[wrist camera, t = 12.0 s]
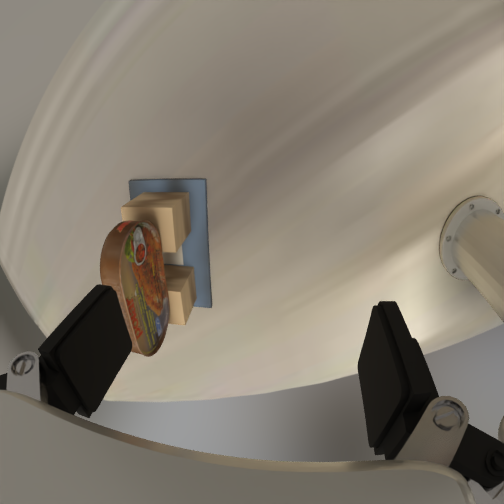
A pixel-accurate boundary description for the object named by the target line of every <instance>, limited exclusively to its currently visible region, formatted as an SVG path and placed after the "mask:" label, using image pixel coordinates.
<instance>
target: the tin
mask: <svg viewBox="0 0 504 504" xmlns="http://www.w3.org/2000/svg"><path fill="white" fill-rule="evenodd" d="M100 276H101V281H102V285H108V286H112V288H113V290H115V291H116V293H117V296H118V299H119V303H120V306H121V309H122V313H123V316H124V319H125V322H126V325H127V329H128V332H129V335H130V338H131V341H132V350H131V352H135V353H139V354H142V355H144V356H147V357H150V356H152V355H154V354H155V353H156V352H157V351H158V350H159V348H160V347H161V345H162V343H163V340H164V338H165V335H166V331H167V327H168V321H169V311H170V307H169V296H168V290H167V283H166V277H165V270H164V262H163V254H162V246H161V240H160V236H159V233H158V231H157V229H156V227H155V226H154V225H153V223H151V222H150V221H147V220H142V221H131V220H129V221H123V222H121V223H119V224H118V225H117V226H115V227H114V229H113V230H112V231H111V232H110V233H109V234H108V236H107V238H106V240H105V242H104V245H103V248H102V253H101V258H100Z"/></svg>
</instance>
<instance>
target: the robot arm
mask: <svg viewBox="0 0 504 504" xmlns="http://www.w3.org/2000/svg"><path fill="white" fill-rule="evenodd" d="M440 257H441V261H442V263H443V266H444V267H445V269H446V270H447V271H448V272H449V274H450V275H451V276H453V277H455V278H456V279H460V280H470V281H471V282H472V284H473V285H474V286H475V287H476V288H477V289H478V291H479V292H480V293H481V294H482V295H483V297H484V298H485V299H486V300H487V302H488V303H489V304H490V305H491V307H492V308H493V309H494V310H495V312H496V313H497V314H498V316H499V317H500V318H501V320H502V321H503V322H504V213H503V211H502V209H501V208H500V206H499V205H498V204H497V203H496V202H494V201H493V200H491V199H489V198H487V197H483V196H477V197H472V198H469V199H467V200H466V201H464V202H462V203H461V204H460V205H459V206H458V207H456V209H455V210H454V211H453V212H452V213H451V215H450V217H449V218H448V220H447V221H446V224H445V226H444V228H443V231H442V235H441V239H440ZM38 350H39V352H40V354H41V356H40V357H38V356H37V355H36V354H35V353H33V352H23V353H20V354H18V355H17V356H16V357H14V358H13V359H12V361H11V362H10V364H9V367H8V373H6V374H3V375H0V504H504V416H503V418H502V420H501V422H500V425H499V429H498V440H497V439H495V438H493V437H491V436H490V435H488V434H486V433H484V432H483V431H481V430H479V429H477V428H475V427H474V426H472V425H470V424H468V421H469V414H468V410H467V408H466V406H465V405H464V404H463V403H462V402H461V401H459V400H458V399H456V398H453V397H451V396H441V397H439V395H438V392H437V390H436V387H435V384H434V381H433V379H432V376H431V373H430V371H429V368H428V366H427V363H426V361H425V358H424V356H423V353H422V351H421V348H420V346H419V343H418V342H417V340H416V339H415V338H412V337H411V335H410V332H409V330H408V328H407V325H406V323H405V321H404V318H403V316H402V314H401V312H400V309H399V307H398V305H397V303H396V302H395V301H380V302H379V303H378V306H373V309H372V313H371V317H370V321H369V325H368V328H367V332H366V336H365V340H364V343H363V347H362V350H361V354H360V357H359V361H358V374H359V379H360V386H361V391H362V398H363V404H364V411H365V418H366V425H367V433H368V441H369V446H370V447H374V452H375V455H382V454H385V460H377V461H376V460H375V461H351V462H288V461H270V460H258V459H247V458H238V457H231V456H224V455H217V454H210V453H204V452H199V451H194V450H188V449H183V448H179V447H174V446H169V445H165V444H161V443H157V442H153V441H149V440H146V439H142V438H138V437H135V436H132V435H128V434H125V433H122V432H119V431H116V430H112V429H109V428H106V427H103V426H101V425H98V424H95V423H92V422H90V421H87V420H84V419H82V418H79V417H77V416H74V414H75V412H76V411H77V413H78V414H80V415H82V416H85V417H87V418H90V416H91V414H92V412H95V411H96V410H97V408H98V407H99V405H100V403H101V401H102V400H103V398H104V396H105V394H106V393H107V391H108V389H109V387H110V386H111V384H112V382H113V381H114V379H115V377H116V375H117V374H118V372H119V370H120V369H121V367H122V365H123V364H124V362H125V360H126V359H127V357H128V355H129V354H130V352H131V350H132V341H131V338H130V335H129V332H128V329H127V325H126V322H125V319H124V316H123V313H122V309H121V306H120V303H119V299H118V296H117V293H116V291H115V290H113V288H112V286H108V285H96V286H95V287H94V288H93V289H92V290H91V291H90V292H89V293H88V294H87V295H86V296H85V297H84V299H83V300H82V301H81V302H80V303H79V304H78V305H77V306H76V307H75V308H74V309H73V310H72V311H71V312H70V313H69V315H68V316H67V317H66V318H65V319H64V320H63V321H62V322H61V323H60V324H59V326H58V327H57V328H56V329H55V330H54V331H53V332H52V333H51V335H50V336H49V337H48V338H47V339H46V340H45V342H44V343H43V344H42V345H41V346H40V348H38Z"/></svg>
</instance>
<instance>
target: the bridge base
mask: <svg viewBox="0 0 504 504" xmlns="http://www.w3.org/2000/svg"><path fill="white" fill-rule="evenodd" d="M129 190H130V200H131V201H129V202H128V203H127V204H125V205H124V206H122V207H121V212H122V220H123V221H129V220H131V221H142V220H147V221H150V222H151V223H153V225H154V226H155V227H156V229H157V231H158V233H159V236H160V240H161V246H162V254H163V262H164V270H165V277H166V283H167V290H168V296H169V307H170V311H169V321H168V323H170V324H178V325H186V322H187V320H188V318H189V315H190V313H191V311H192V308H193V306H195V307H205V308H212V296H211V280H210V263H209V243H208V220H207V191H206V179H144V180H130V181H129Z"/></svg>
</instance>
